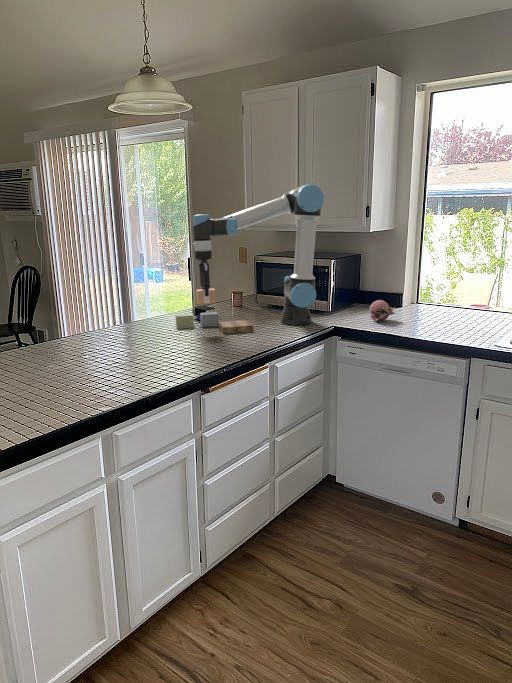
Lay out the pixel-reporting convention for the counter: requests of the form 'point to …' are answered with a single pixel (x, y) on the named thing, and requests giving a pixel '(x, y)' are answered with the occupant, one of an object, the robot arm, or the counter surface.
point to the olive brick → (184, 321)
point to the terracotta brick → (201, 298)
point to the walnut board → (235, 326)
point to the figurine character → (200, 310)
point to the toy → (380, 310)
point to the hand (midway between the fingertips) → (206, 301)
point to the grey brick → (209, 319)
